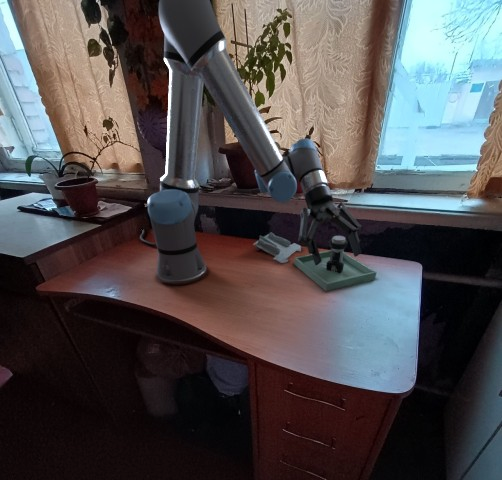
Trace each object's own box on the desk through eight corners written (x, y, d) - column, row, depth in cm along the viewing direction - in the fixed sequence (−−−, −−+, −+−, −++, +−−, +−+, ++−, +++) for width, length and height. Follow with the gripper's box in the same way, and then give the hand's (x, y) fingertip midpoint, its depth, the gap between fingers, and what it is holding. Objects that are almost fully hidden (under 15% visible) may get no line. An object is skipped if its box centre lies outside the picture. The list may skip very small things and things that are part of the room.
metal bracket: (248, 240, 102) (271, 226, 112) (245, 255, 106) (267, 240, 116) (285, 259, 99) (305, 243, 108) (280, 274, 103) (300, 257, 112)
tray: (294, 264, 100) (294, 257, 99) (337, 255, 104) (338, 248, 103) (326, 291, 86) (327, 283, 84) (374, 279, 90) (376, 272, 88)
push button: (318, 271, 94) (322, 238, 88) (325, 264, 98) (328, 232, 92) (340, 275, 91) (345, 242, 85) (346, 268, 95) (351, 236, 89)
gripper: (345, 194, 99) (366, 256, 97) (274, 205, 92) (295, 271, 90) (358, 178, 92) (382, 245, 90) (282, 189, 85) (306, 261, 83)
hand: (338, 258), depth 90 cm, fingers open, 13 cm apart
